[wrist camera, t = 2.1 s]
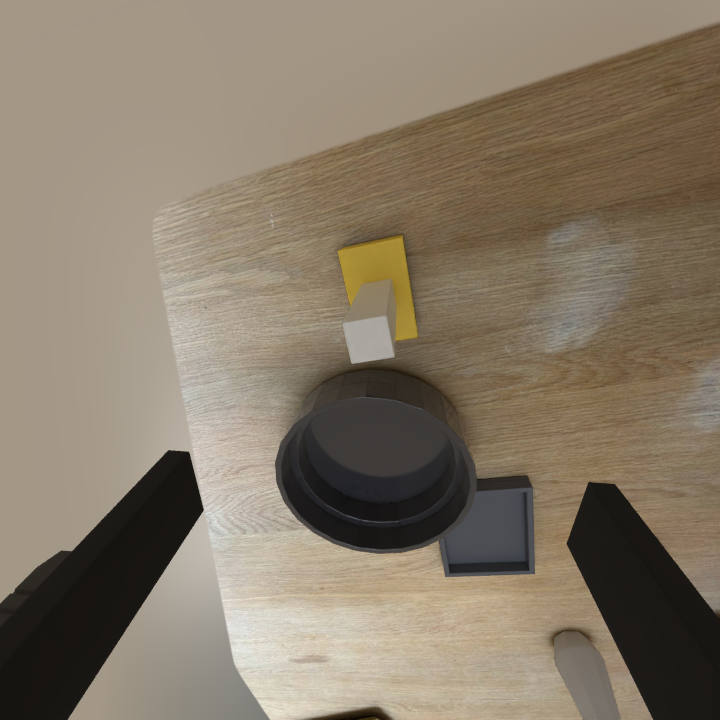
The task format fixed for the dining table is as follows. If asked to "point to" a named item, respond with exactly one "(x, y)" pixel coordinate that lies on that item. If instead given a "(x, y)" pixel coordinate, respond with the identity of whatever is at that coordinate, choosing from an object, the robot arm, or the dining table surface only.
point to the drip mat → (494, 532)
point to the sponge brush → (377, 298)
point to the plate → (369, 718)
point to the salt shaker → (585, 676)
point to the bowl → (377, 463)
